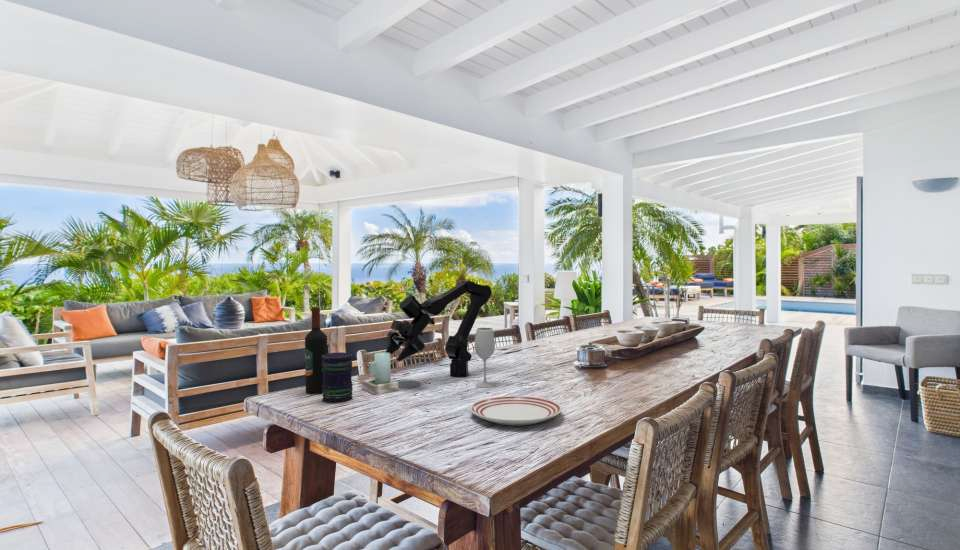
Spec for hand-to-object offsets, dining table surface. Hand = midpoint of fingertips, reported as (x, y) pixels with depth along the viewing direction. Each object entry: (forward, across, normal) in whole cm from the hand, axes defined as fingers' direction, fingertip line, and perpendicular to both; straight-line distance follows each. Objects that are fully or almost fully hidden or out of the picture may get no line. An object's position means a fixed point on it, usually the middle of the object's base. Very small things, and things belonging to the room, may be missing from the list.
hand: (391, 358), depth 187 cm
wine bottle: (+24, -13, -8) cm, 28 cm away
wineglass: (-13, +19, +28) cm, 36 cm away
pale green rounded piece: (+11, 0, +4) cm, 12 cm away
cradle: (+11, 0, +4) cm, 12 cm away
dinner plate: (0, +54, +16) cm, 56 cm away
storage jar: (+23, +2, -7) cm, 24 cm away
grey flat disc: (+3, 0, +12) cm, 12 cm away
